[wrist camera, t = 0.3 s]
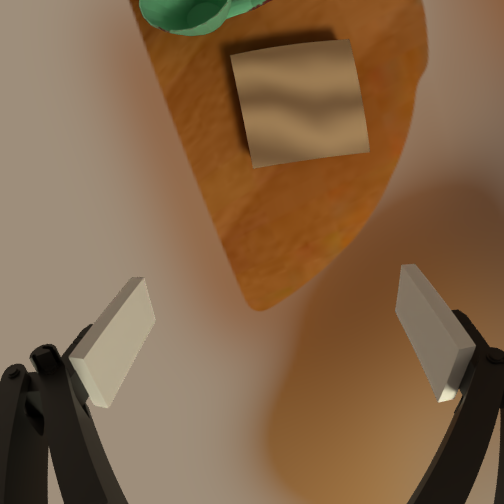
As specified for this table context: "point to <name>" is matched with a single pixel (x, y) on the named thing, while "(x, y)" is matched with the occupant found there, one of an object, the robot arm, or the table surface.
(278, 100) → the walnut board
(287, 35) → the table surface
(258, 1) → the mug
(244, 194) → the table surface
